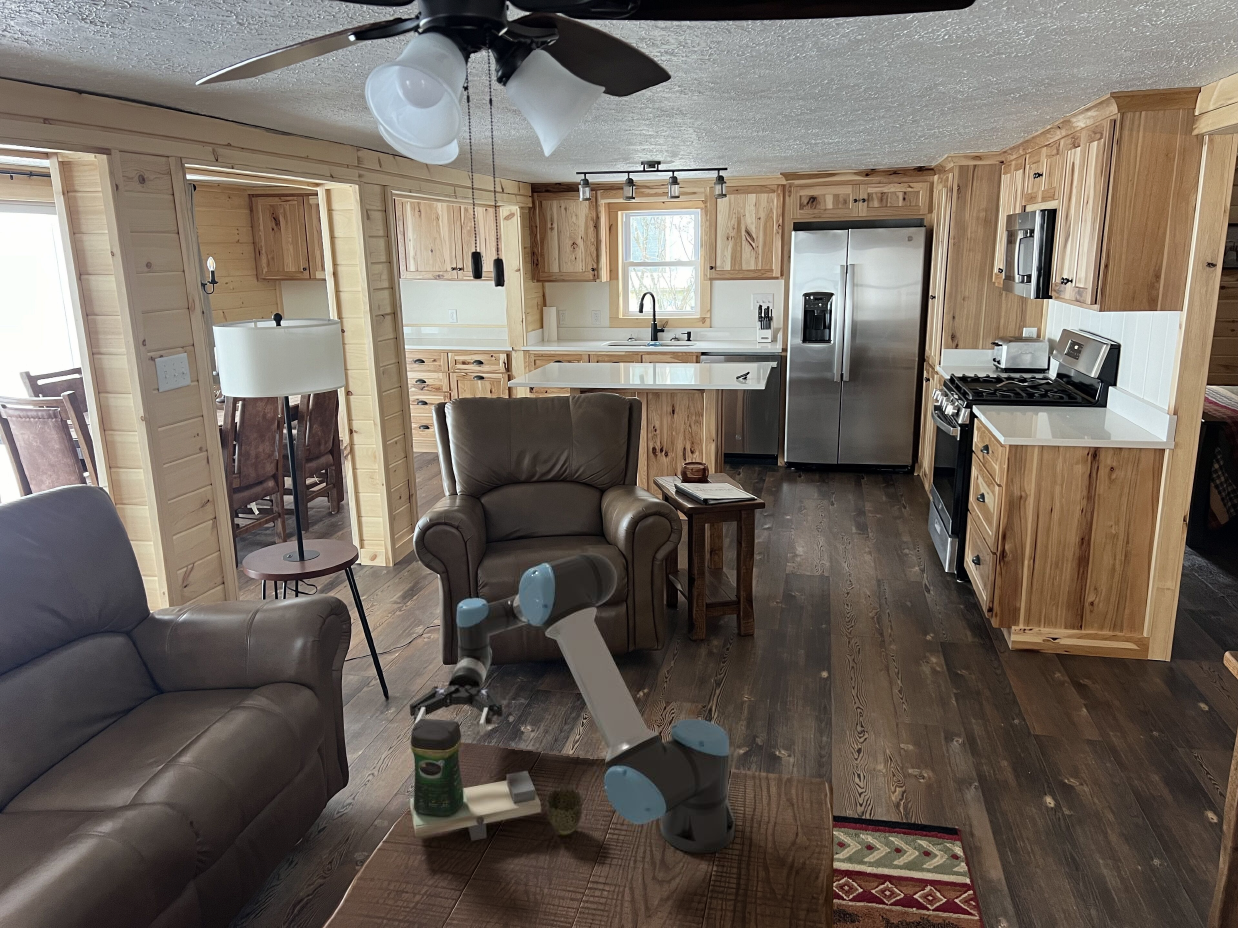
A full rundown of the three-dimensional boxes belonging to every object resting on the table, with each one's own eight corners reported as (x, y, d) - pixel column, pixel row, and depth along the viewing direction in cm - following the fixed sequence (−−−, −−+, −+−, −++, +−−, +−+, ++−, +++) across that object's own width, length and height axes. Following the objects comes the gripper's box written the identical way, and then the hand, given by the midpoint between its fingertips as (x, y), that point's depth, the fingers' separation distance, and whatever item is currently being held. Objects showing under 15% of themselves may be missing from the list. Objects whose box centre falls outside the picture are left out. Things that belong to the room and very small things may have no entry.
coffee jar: (467, 796, 176) (465, 714, 172) (455, 821, 169) (453, 735, 164) (422, 792, 178) (419, 710, 173) (408, 816, 170) (404, 731, 166)
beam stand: (486, 837, 174) (486, 820, 173) (471, 840, 173) (471, 823, 172) (480, 816, 181) (479, 800, 180) (465, 819, 180) (465, 802, 179)
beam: (541, 813, 175) (541, 794, 174) (416, 838, 167) (415, 818, 166) (528, 783, 185) (528, 764, 184) (409, 805, 177) (409, 786, 176)
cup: (578, 846, 172) (577, 811, 170) (542, 841, 173) (541, 806, 171) (586, 823, 179) (586, 789, 177) (552, 818, 180) (552, 784, 178)
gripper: (520, 695, 202) (508, 745, 181) (414, 695, 202) (390, 744, 181) (520, 666, 200) (507, 712, 180) (413, 665, 200) (388, 712, 180)
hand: (449, 728), depth 181 cm, fingers open, 13 cm apart
